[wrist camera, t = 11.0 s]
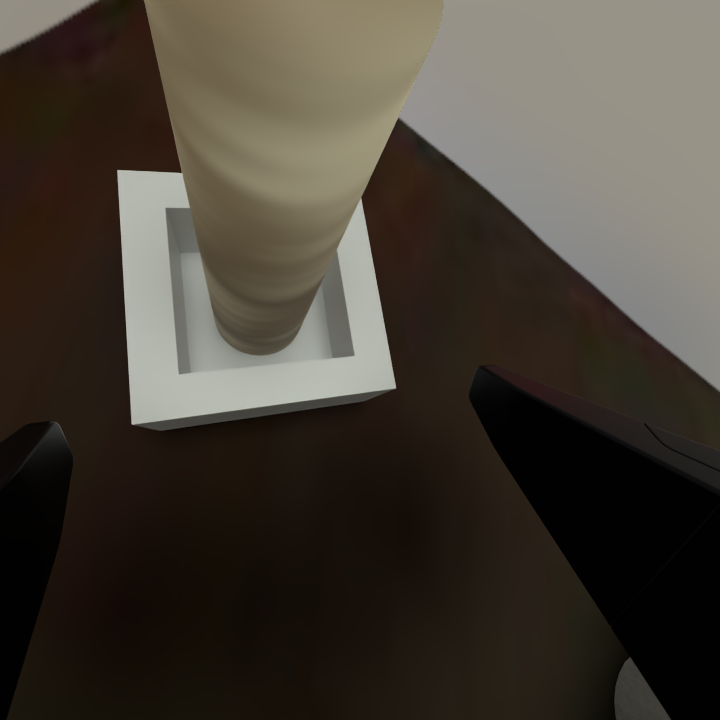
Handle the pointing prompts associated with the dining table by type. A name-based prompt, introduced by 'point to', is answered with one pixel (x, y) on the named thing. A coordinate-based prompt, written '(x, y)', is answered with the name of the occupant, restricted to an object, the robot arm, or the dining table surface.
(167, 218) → the end cap
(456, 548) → the dining table surface
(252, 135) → the dowel
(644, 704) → the house plant
